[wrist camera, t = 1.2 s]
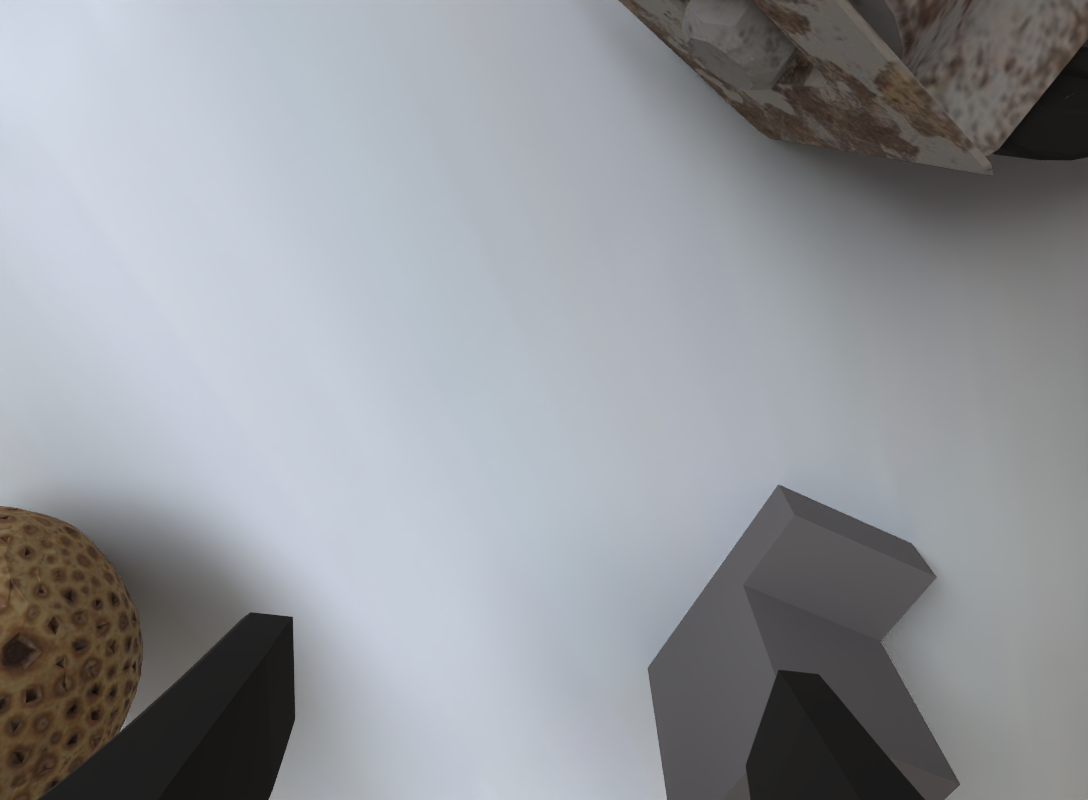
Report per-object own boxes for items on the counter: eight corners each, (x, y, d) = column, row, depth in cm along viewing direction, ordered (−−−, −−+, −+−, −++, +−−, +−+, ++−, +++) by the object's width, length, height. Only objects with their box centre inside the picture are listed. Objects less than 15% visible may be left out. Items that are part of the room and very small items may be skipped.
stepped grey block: (911, 543, 21) (1036, 712, 16) (769, 714, 24) (831, 907, 18) (778, 484, 20) (859, 639, 15) (647, 668, 23) (675, 854, 18)
